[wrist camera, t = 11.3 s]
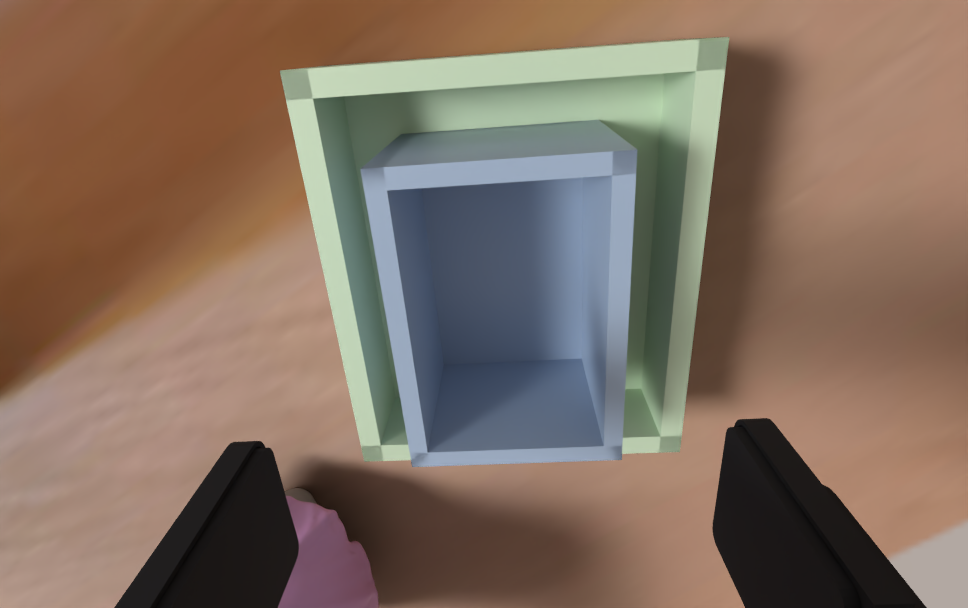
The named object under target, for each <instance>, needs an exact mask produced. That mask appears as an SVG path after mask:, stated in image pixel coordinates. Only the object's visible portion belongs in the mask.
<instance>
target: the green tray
mask: <svg viewBox="0 0 968 608" xmlns="http://www.w3.org/2000/svg"><path fill="white" fill-rule="evenodd" d="M728 43H729V37H720V38H695V39H677V40H664V41H650V42H637V43H624V44H610V45H597V46H584V47H570V48H557V49H544V50H530V51H517V52H504V53H490V54H477V55H464V56H450V57H437V58H424V59H410V60H397V61H384V62H370V63H357V64H344V65H330V66H319V67H310V68H300V69H291V70H282V71H280V74H281V78H282V83H283V88H284V92H285V97H286V102H287V106H288V111H289V115H290V120H291V125H292V129H293V134H294V139H295V143H296V148H297V152H298V157H299V162H300V166H301V171H302V176H303V180H304V185H305V189H306V194H307V199H308V203H309V208H310V213H311V217H312V222H313V226H314V231H315V236H316V240H317V245H318V250H319V254H320V259H321V263H322V268H323V273H324V277H325V282H326V286H327V291H328V296H329V300H330V305H331V310H332V314H333V319H334V323H335V328H336V333H337V337H338V342H339V347H340V351H341V356H342V360H343V365H344V370H345V374H346V379H347V384H348V388H349V393H350V397H351V402H352V407H353V411H354V416H355V421H356V425H357V430H358V434H359V439H360V444H361V448H362V453H363V457H364V461H397V460H411V457H410V451H409V446H408V440H407V434H406V428H405V423H404V417H403V411H402V406H401V400H400V394H399V388H398V383H397V377H396V371H395V365H394V360H393V354H392V348H391V342H390V337H389V331H388V325H387V319H386V314H385V308H384V302H383V296H382V291H381V285H380V279H379V273H378V268H377V262H376V256H375V250H374V245H373V239H372V233H371V227H370V222H369V216H368V210H367V204H366V199H365V193H364V187H363V181H362V176H361V170H360V169H361V168H362V167H363V166H364V165H365V164H367V163H368V162H369V161H370V160H371V159H372V158H374V157H375V156H376V155H377V154H378V153H379V152H381V151H382V150H383V149H384V148H385V147H386V146H388V145H389V144H390V143H391V142H392V141H393V140H394V139H396V138H397V137H398V136H399V135H400V134H408V133H422V132H436V131H449V130H463V129H477V128H490V127H504V126H518V125H531V124H545V123H559V122H572V121H586V120H599V121H601V122H602V123H603V124H605V125H606V126H607V127H609V128H610V129H611V130H612V131H614V132H615V133H616V134H618V135H619V136H620V137H622V138H623V139H624V140H625V141H627V142H628V143H629V144H631V145H632V146H633V147H635V148H636V149H637V168H636V187H635V207H634V227H633V246H632V266H631V286H630V306H629V325H628V345H627V365H626V385H625V404H624V424H623V444H622V454H627V453H660V452H680V445H681V436H682V428H683V420H684V411H685V403H686V395H687V386H688V378H689V369H690V361H691V353H692V344H693V336H694V328H695V319H696V311H697V302H698V294H699V286H700V277H701V269H702V261H703V252H704V244H705V236H706V227H707V219H708V210H709V202H710V194H711V185H712V177H713V169H714V160H715V152H716V143H717V135H718V127H719V118H720V110H721V102H722V93H723V85H724V77H725V68H726V60H727V51H728Z"/></svg>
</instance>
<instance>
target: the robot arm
mask: <svg viewBox="0 0 968 608" xmlns="http://www.w3.org/2000/svg"><path fill="white" fill-rule="evenodd" d="M713 536H714V540H715V543H716V546H717V548H718V550H719V552H720V554H721V556H722V559H723V561H724V563H725V565H726V567H727V569H728V571H729V574H730V576H731V578H732V580H733V582H734V584H735V587H736V589H737V591H738V593H739V595H740V597H741V599H742V602H743V604H744V606H745V608H926V606H925V605H924V604H923V603H922V601H921V600H920V599H919V598H918V596H917V595H916V594H915V593H914V591H913V590H912V589H911V588H910V587H909V585H908V584H907V583H906V582H905V580H904V579H903V578H902V577H901V575H900V574H899V573H898V572H897V570H896V569H895V568H894V567H893V565H892V564H891V563H890V562H889V560H888V559H887V558H886V557H885V555H884V554H883V553H882V552H881V550H880V549H879V548H878V547H877V545H876V544H875V543H874V542H873V540H872V539H871V538H870V537H869V535H868V534H867V533H866V532H865V530H864V529H863V528H862V527H861V525H860V524H859V523H858V522H857V520H856V519H855V518H854V517H853V515H852V514H851V513H850V512H849V510H848V509H847V508H846V507H845V505H844V504H843V503H842V502H841V500H840V499H839V498H838V497H837V495H836V494H835V493H834V492H833V491H832V490H831V489H830V488H828V487H826V486H824V485H822V484H821V482H820V481H819V480H818V479H817V477H816V476H815V475H814V473H813V472H812V471H811V470H810V468H809V467H808V466H807V465H806V463H805V462H804V461H803V459H802V458H801V457H800V456H799V454H798V453H797V452H796V451H795V449H794V448H793V447H792V446H791V444H790V443H789V442H788V440H787V439H786V438H785V437H784V435H783V434H782V433H781V432H780V430H779V429H778V428H777V426H776V425H775V424H774V423H773V422H772V421H771V420H770V419H767V418H762V419H740V420H737V422H736V423H735V426H734V427H730V428H728V429H727V432H726V437H725V444H724V451H723V458H722V465H721V471H720V478H719V485H718V492H717V499H716V506H715V512H714V519H713ZM298 552H299V541H298V537H297V534H296V530H295V527H294V523H293V520H292V516H291V513H290V509H289V506H288V502H287V499H286V495H285V492H284V488H283V485H282V482H281V478H280V475H279V471H278V468H277V464H276V461H275V457H274V454H273V451H272V450H271V448H265V446H264V444H263V443H262V442H260V441H249V442H233V443H230V444H229V446H228V447H227V448H226V449H225V451H224V452H223V454H222V455H221V456H220V458H219V459H218V461H217V462H216V464H215V465H214V466H213V468H212V469H211V471H210V472H209V474H208V475H207V476H206V478H205V479H204V481H203V482H202V484H201V485H200V486H199V488H198V489H197V491H196V492H195V494H194V495H193V496H192V498H191V499H190V501H189V502H188V504H187V505H186V506H185V508H184V509H183V511H182V512H181V514H180V515H179V516H178V518H177V519H176V521H175V522H174V523H173V525H172V526H171V528H170V529H169V531H168V532H167V533H166V535H165V536H164V538H163V539H162V541H161V542H160V543H159V545H158V546H157V548H156V549H155V551H154V552H153V553H152V555H151V556H150V558H149V559H148V560H147V562H146V563H145V565H144V566H143V568H142V569H141V570H140V572H139V573H138V575H137V576H136V578H135V579H134V580H133V582H132V583H131V585H130V586H129V588H128V589H127V590H126V592H125V593H124V595H123V596H122V598H121V599H120V600H119V602H118V603H117V605H116V606H115V608H278V606H279V603H280V601H281V598H282V596H283V593H284V591H285V588H286V586H287V583H288V581H289V578H290V576H291V573H292V571H293V568H294V566H295V563H296V560H297V557H298Z"/></svg>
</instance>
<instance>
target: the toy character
mask: <svg viewBox="0 0 968 608" xmlns="http://www.w3.org/2000/svg"><path fill="white" fill-rule="evenodd" d="M285 495H286V499H287V502H288V506H289V509H290V513H291V516H292V520H293V523H294V527H295V530H296V534H297V537H298V541H299V552H298V557H297V560H296V563H295V566H294V568H293V571H292V573H291V576H290V578H289V581H288V583H287V586H286V588H285V591H284V593H283V596H282V598H281V601H280V603H279V606H278V608H379V603H378V592H377V590H376V587H375V583H374V579H373V577H372V573H371V567H370V563H369V560H368V558H367V555H366V553H365V551H364V549H363V547H362V546H361V544H360V543H359V542H357V541H353V542H349V541H348V538H347V534H346V531H345V528H344V525H343V523H342V522H341V520H340V519H339V518H338V514H337V512H336V511H335V510H329V509H325V508H324V507H322V506H320V505H317V504H316V502H315V500H314V498H313V497H312V495H311V494H310V493H309V492H308V491H306V490H304V489H301V488H294V489H290V490H287V491H285Z"/></svg>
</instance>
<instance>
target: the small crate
mask: <svg viewBox="0 0 968 608" xmlns="http://www.w3.org/2000/svg"><path fill="white" fill-rule="evenodd" d="M636 168H637V149H636V148H635V147H633V146H632V145H631V144H629V143H628V142H627V141H625V140H624V139H623V138H622V137H620V136H619V135H618V134H616V133H615V132H614V131H612V130H611V129H610V128H609V127H607V126H606V125H605V124H603V123H602V122H601V121H599V120H586V121H572V122H559V123H545V124H531V125H518V126H504V127H490V128H477V129H463V130H449V131H436V132H422V133H408V134H400V135H399V136H398V137H397V138H396V139H394V140H393V141H392V142H391V143H390V144H389V145H388V146H386V147H385V148H384V149H383V150H382V151H381V152H379V153H378V154H377V155H376V156H375V157H374V158H372V159H371V160H370V161H369V162H368V163H367V164H365V165H364V166H363V167H362V168H361V169H360V170H361V176H362V181H363V187H364V193H365V199H366V204H367V210H368V216H369V222H370V227H371V233H372V239H373V245H374V250H375V256H376V262H377V268H378V273H379V279H380V285H381V291H382V296H383V302H384V308H385V314H386V319H387V325H388V331H389V337H390V342H391V348H392V354H393V360H394V365H395V371H396V377H397V383H398V388H399V394H400V400H401V406H402V411H403V417H404V423H405V428H406V434H407V440H408V446H409V451H410V457H411V463H412V467H426V466H455V465H484V464H514V463H543V462H572V461H601V460H622V444H623V424H624V404H625V385H626V365H627V345H628V325H629V306H630V286H631V266H632V246H633V227H634V207H635V187H636Z"/></svg>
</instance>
